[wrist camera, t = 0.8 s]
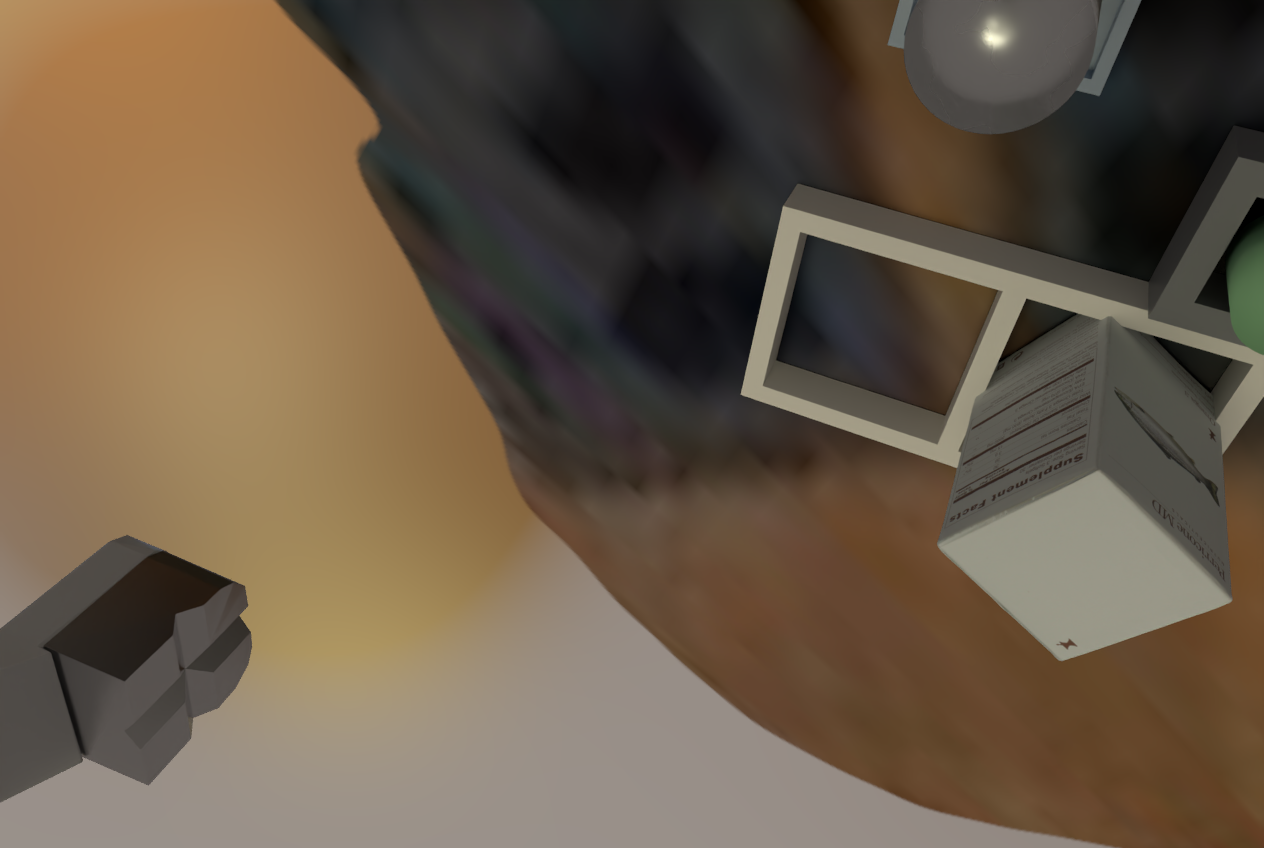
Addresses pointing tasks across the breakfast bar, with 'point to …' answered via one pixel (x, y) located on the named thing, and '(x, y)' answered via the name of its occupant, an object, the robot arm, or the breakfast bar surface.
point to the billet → (998, 59)
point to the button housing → (1209, 241)
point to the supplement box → (1092, 489)
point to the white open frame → (1015, 281)
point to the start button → (1247, 284)
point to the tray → (1111, 33)
